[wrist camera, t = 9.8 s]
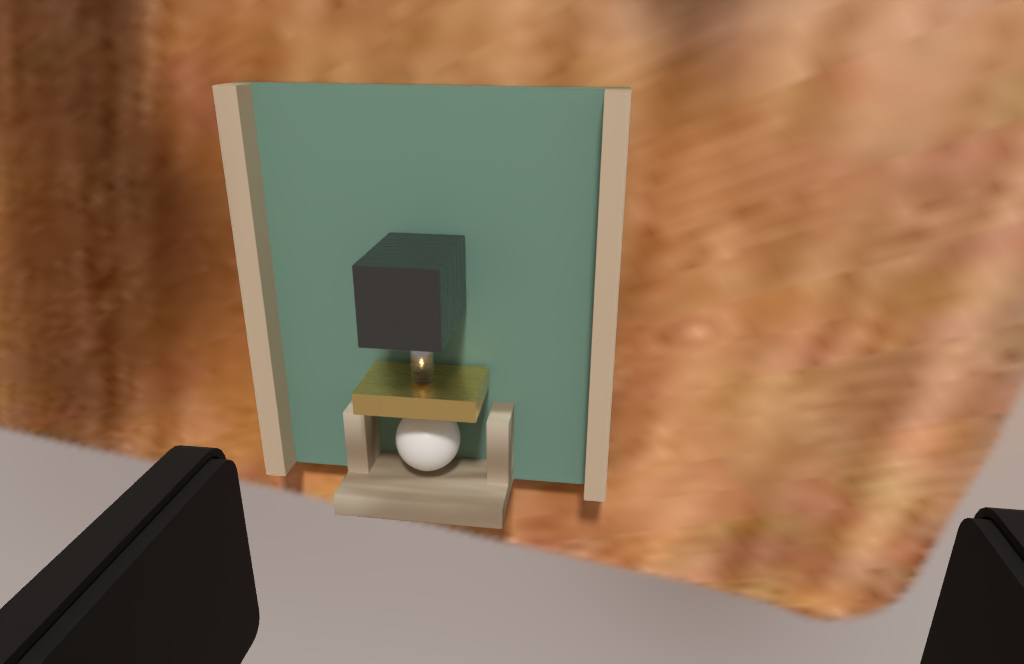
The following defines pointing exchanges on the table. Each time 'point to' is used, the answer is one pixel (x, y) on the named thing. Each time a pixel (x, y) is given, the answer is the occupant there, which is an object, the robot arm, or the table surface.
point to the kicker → (414, 329)
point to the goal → (427, 478)
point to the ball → (427, 442)
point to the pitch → (432, 210)
